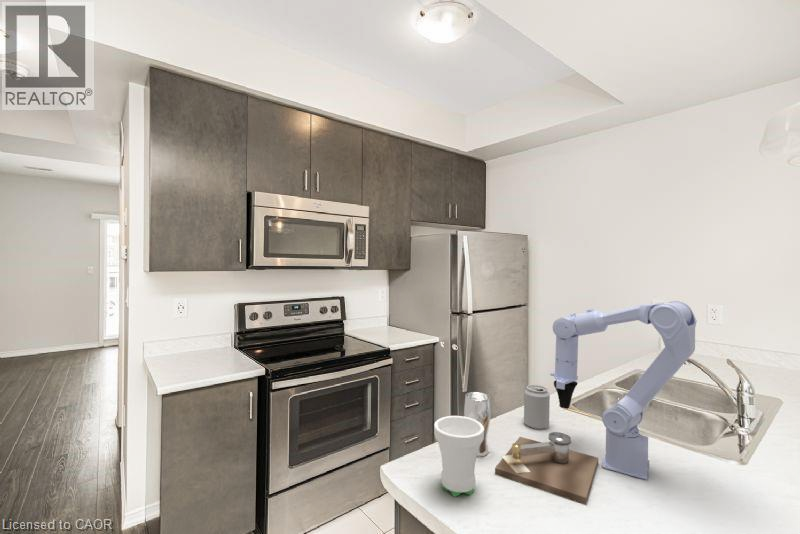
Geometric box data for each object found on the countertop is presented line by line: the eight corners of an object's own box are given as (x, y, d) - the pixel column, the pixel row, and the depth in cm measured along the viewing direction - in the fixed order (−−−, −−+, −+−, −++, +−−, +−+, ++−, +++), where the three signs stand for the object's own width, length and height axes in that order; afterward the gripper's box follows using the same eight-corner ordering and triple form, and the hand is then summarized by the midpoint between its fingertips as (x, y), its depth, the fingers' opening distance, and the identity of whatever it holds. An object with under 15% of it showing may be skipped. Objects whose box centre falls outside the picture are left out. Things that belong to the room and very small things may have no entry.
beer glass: (471, 442, 108) (472, 389, 108) (494, 450, 103) (495, 395, 103) (459, 451, 102) (459, 396, 102) (482, 460, 98) (483, 402, 98)
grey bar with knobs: (561, 452, 99) (562, 431, 99) (575, 463, 94) (575, 440, 94) (507, 459, 95) (507, 436, 95) (518, 470, 90) (518, 446, 90)
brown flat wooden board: (598, 463, 97) (598, 456, 97) (586, 504, 81) (586, 496, 81) (517, 441, 109) (517, 435, 109) (492, 473, 92) (492, 465, 92)
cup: (491, 499, 82) (492, 434, 82) (442, 506, 80) (443, 439, 79) (471, 471, 93) (472, 413, 93) (427, 476, 91) (428, 417, 91)
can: (545, 432, 114) (545, 393, 114) (520, 426, 119) (520, 388, 118) (552, 424, 120) (552, 386, 120) (528, 418, 125) (529, 382, 124)
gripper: (556, 352, 115) (555, 396, 116) (545, 362, 103) (543, 412, 104) (582, 355, 111) (580, 401, 112) (573, 367, 99) (571, 418, 100)
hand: (564, 407), depth 107 cm, fingers closed
